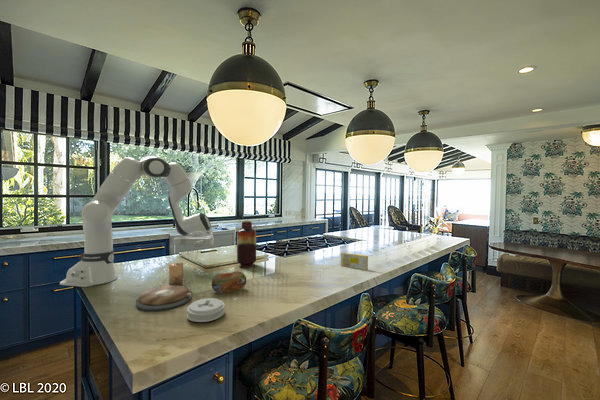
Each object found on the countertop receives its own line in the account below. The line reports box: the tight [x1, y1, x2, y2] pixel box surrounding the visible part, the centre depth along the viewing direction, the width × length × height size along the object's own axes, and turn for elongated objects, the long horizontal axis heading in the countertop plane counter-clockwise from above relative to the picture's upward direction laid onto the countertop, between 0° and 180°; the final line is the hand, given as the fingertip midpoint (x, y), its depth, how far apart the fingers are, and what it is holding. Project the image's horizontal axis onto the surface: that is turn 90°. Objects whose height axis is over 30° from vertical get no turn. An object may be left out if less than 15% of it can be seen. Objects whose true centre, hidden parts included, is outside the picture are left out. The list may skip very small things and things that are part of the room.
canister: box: [168, 262, 184, 286], centre depth 128 cm, size 6×6×10 cm
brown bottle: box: [236, 220, 257, 269], centre depth 163 cm, size 11×11×26 cm
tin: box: [210, 270, 247, 295], centre depth 122 cm, size 15×3×8 cm, turn 117°
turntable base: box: [135, 289, 193, 312], centre depth 111 cm, size 20×20×2 cm
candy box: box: [340, 252, 369, 272], centre depth 160 cm, size 16×2×8 cm, turn 58°
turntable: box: [138, 284, 192, 306], centre depth 111 cm, size 20×18×2 cm
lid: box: [186, 297, 226, 323], centre depth 98 cm, size 13×13×5 cm
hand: (188, 243), depth 141 cm, fingers open, 8 cm apart
